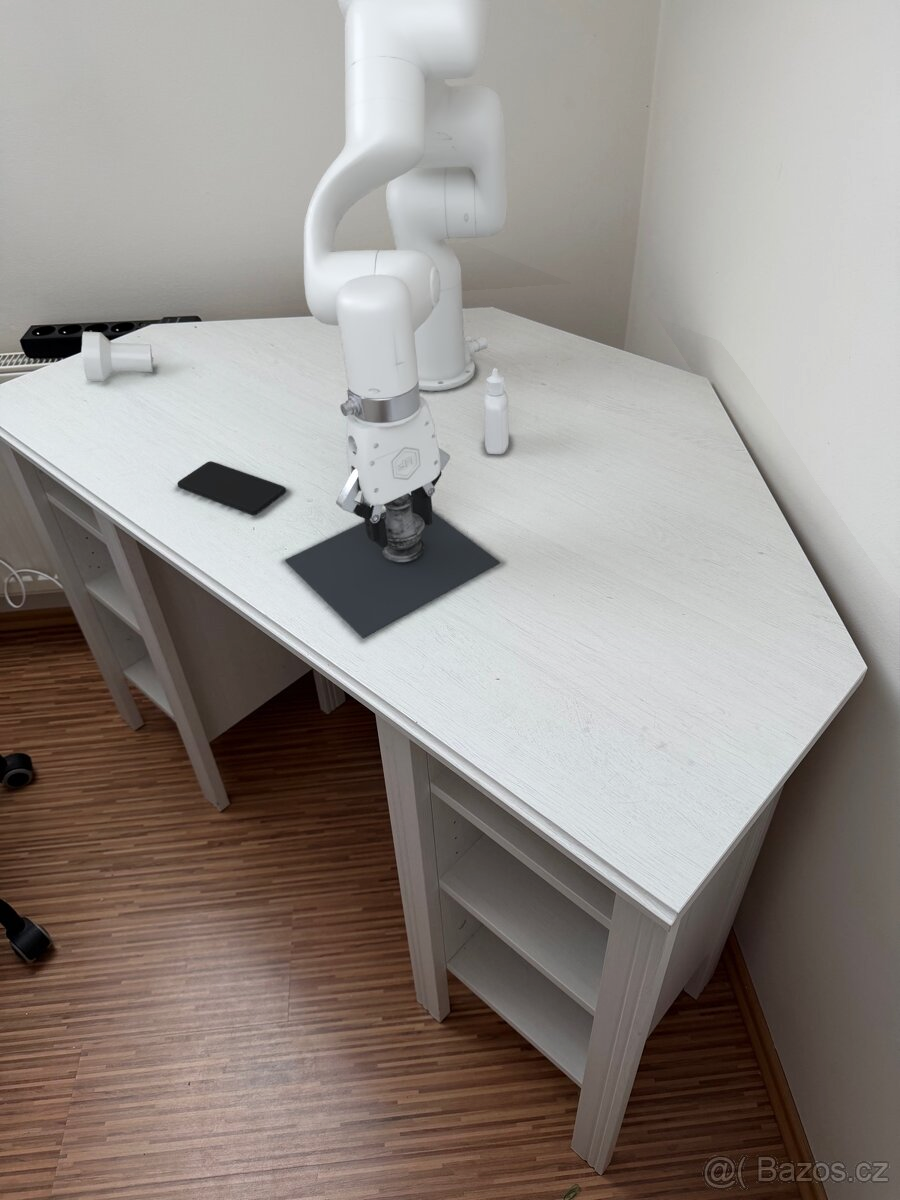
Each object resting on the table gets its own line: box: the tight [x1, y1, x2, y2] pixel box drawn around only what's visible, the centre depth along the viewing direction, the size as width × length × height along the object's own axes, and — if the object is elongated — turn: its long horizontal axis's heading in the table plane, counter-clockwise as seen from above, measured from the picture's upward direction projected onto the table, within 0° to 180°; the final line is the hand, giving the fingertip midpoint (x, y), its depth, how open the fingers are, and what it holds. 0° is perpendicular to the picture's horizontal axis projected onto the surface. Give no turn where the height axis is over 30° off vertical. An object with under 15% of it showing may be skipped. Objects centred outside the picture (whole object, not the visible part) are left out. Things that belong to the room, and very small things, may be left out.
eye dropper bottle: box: [483, 367, 510, 455], centre depth 118 cm, size 4×6×12 cm
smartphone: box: [177, 460, 287, 516], centre depth 117 cm, size 7×1×15 cm
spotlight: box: [80, 331, 154, 382], centre depth 143 cm, size 8×11×8 cm
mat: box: [284, 503, 501, 639], centre depth 103 cm, size 20×18×1 cm
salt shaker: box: [382, 492, 425, 562], centre depth 99 cm, size 6×6×12 cm
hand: (400, 529), depth 101 cm, fingers closed on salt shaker, 5 cm apart
